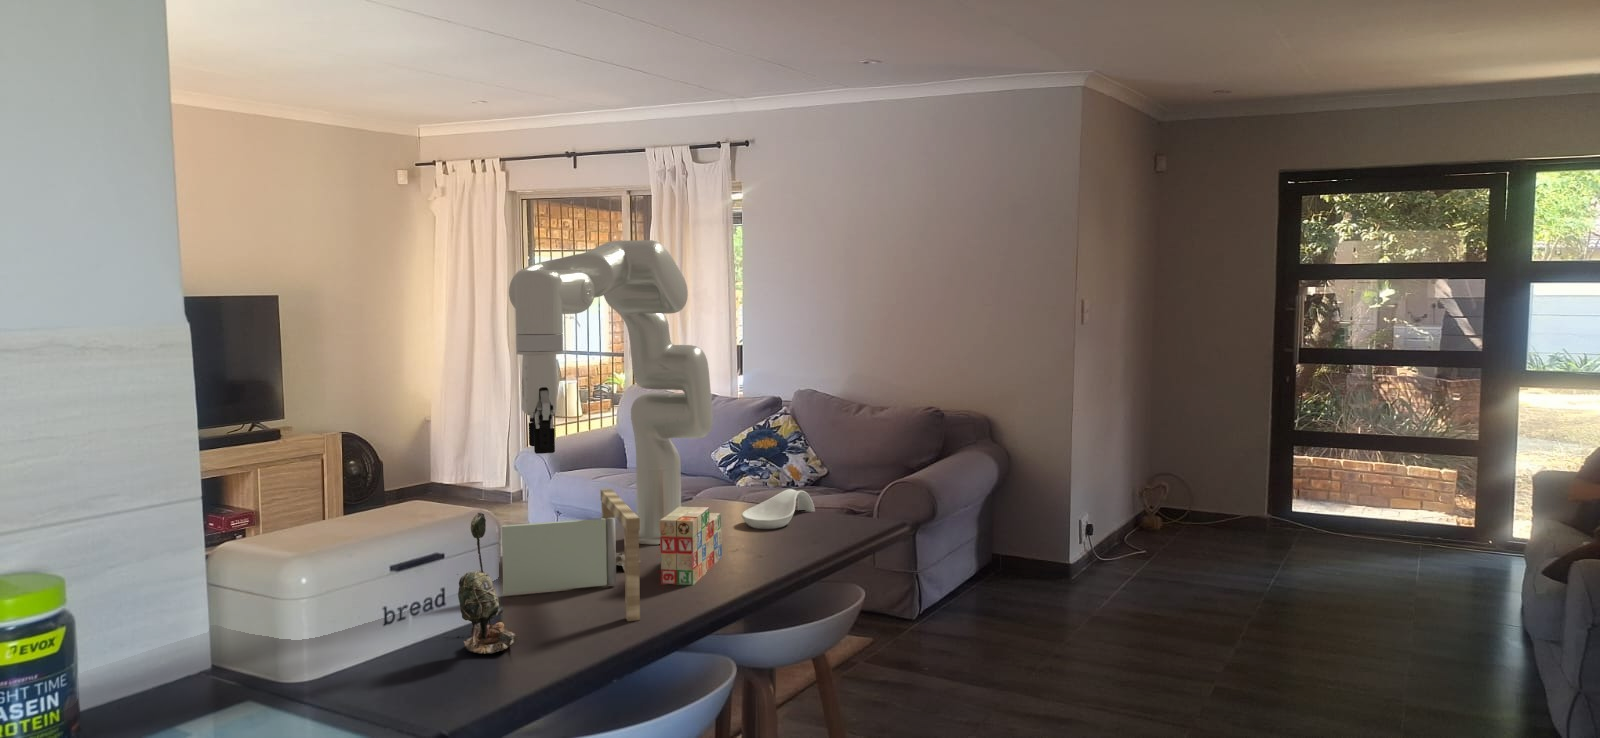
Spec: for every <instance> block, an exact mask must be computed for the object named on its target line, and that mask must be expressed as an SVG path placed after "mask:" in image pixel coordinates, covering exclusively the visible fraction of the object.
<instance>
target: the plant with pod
mask: <svg viewBox="0 0 1600 738" xmlns="http://www.w3.org/2000/svg"><path fill="white" fill-rule="evenodd" d="M486 522H487V520H486V517H485V513H483V512H477V513H476V515H474V517H473V518H472V520H471V522H470V533H471V536H472V537H473V538H474V539H476V545H477V554H478V560H479V566H480V570H475V571H468V572H466V573H464V574H463V575H461V577H460V578H459V581H458V593H457V595H458V596H457V597H458V602H459V609H460V613H461V618H462V619H463V620H464V621H469V622H471V625H472V628H471V632H470V633H471V637H470V638H467V639H466V641H465V640H463V643H464V645H463V646H464V647H465V649H466V650H467V651H469V652H471V653H472V652H473V653H476V654H494V653H496V652H497V653H498V652H499V651H504V650H506V649H507V648H509V647H510V646H511V645H512V644H513V643H515V641H514V639H515V637H516V634H515V633H514V631H512V630H508V629H507V627H506V625H505V624H504V622H500V621H499V622H496V623H494V625H491V620H492V619H493V618H495V617H497V616H498V615H499V610H500V604H499V595H498V594H497V591H496V588H495V585H494V582H493V580H492V578H491V577H490V575H489V574H488V573H487V572H485V571H484V569H483V562H482V554H481V543H480V542H481V541H480V539H481V538H483V537H484V536H485V533H486V531H487V530H486V526H487V525H486V524H487V523H486ZM456 575H457V576H459V574H458V573H457V574H456Z"/></svg>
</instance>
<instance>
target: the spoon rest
mask: <svg viewBox="0 0 1600 738" xmlns="http://www.w3.org/2000/svg"><path fill="white" fill-rule="evenodd" d="M796 503H797V504H796ZM796 505H797V511H799V510H806V511H805V512H808V513H809V512H811V513H812V512H813V513H814V512H816V509H815V505H814V501H813V500H812V498H811V496H810V494H809V493H808V492H806V491H805V490H796V489H791V488H789V489H785V490H782V491H781V492H779V493H778V494H776V495H774V496H772V497H771V498H768V499H767V500H764V501H762V502H760V503H758V504H756V505H754V506H752V507H749V508H747V509H745V510H744V511H742V513H741V517H742V519H743V522H745V523H746V524H747V525H748V526H749V527H750V528H753V529H757V530H759V529H760V530H774V529H775V530H776V529H780V528H783V527H785V526H787V525H788V524H789V523H790V522H791V521H792V518H793V516H794V514H795V510H796Z"/></svg>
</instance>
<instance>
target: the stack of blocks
mask: <svg viewBox="0 0 1600 738" xmlns="http://www.w3.org/2000/svg"><path fill="white" fill-rule="evenodd" d="M721 515H722V513H720V512H710V507H707V506H706V507H705V506H681V507H678V508H677V509H675V510H674V511H673V512H671V513H670V514H668V515H667V516H666V517H664V518H662V519H661V520H660V534H661V537H660V547H659V548H660V584H661V585H666V584H674V586H694V585H696V583H697V582H698V581H700V579H702V578H703V576H705V575H706V574H707V573H706V572H708V571H709V570H710V569H711V568H712V566H713V565H715V564H717V562H718V561H719V560H720V559H721V558H722V557H723V556H722V555H723V550H722V549H723V548H722V547H723V544H722V542H723V539H722V538H723V536H722V533H723V531H722V516H721ZM721 556H722V557H721ZM708 569H709V570H708ZM707 570H708V571H707ZM675 584H677V585H675Z"/></svg>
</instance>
